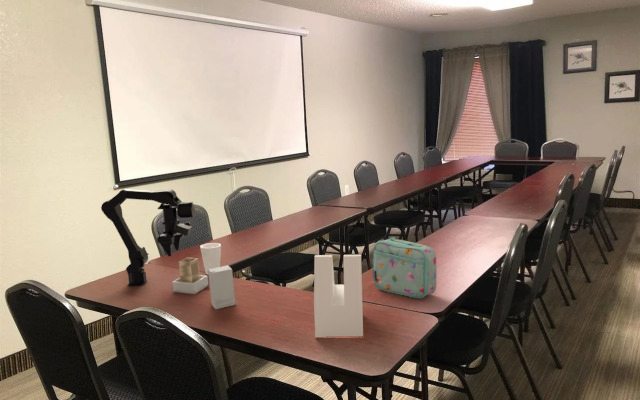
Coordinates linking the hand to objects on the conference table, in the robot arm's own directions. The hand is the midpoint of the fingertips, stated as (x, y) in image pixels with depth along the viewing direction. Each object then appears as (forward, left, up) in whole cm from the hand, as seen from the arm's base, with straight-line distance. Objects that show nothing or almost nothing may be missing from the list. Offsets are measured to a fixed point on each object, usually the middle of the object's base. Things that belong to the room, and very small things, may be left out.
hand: (173, 253), depth 223 cm
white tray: (+10, -10, -13) cm, 19 cm away
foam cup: (+13, +12, -13) cm, 22 cm away
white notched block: (+75, -47, -13) cm, 89 cm away
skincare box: (+29, -28, -13) cm, 42 cm away
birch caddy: (+10, -10, -12) cm, 18 cm away
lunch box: (+98, -15, -13) cm, 100 cm away
